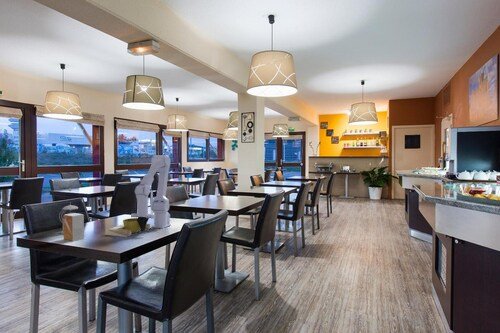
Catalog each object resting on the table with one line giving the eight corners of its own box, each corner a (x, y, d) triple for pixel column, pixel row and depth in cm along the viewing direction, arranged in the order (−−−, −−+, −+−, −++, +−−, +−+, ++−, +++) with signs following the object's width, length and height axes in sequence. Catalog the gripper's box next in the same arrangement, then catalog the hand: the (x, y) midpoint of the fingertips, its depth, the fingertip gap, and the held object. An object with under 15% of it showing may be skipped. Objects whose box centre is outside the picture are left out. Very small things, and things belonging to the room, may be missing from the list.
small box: (63, 239, 163) (62, 214, 162) (75, 236, 168) (74, 212, 168) (72, 241, 159) (72, 215, 158) (84, 238, 164) (84, 214, 164)
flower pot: (122, 234, 172) (121, 221, 172) (124, 230, 182) (123, 218, 182) (141, 233, 175) (141, 220, 175) (142, 229, 185) (142, 217, 185)
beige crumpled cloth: (130, 227, 191) (130, 222, 191) (150, 229, 187) (150, 224, 187) (105, 234, 172) (105, 229, 172) (126, 236, 168) (126, 231, 168)
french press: (71, 234, 174) (70, 189, 174) (53, 233, 177) (53, 189, 176) (84, 230, 184) (83, 187, 184) (67, 229, 186) (66, 187, 186)
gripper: (127, 206, 175) (127, 231, 175) (149, 208, 170) (149, 233, 170) (135, 205, 181) (135, 228, 182) (156, 206, 177) (157, 230, 177)
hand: (142, 230), depth 176 cm, fingers closed
